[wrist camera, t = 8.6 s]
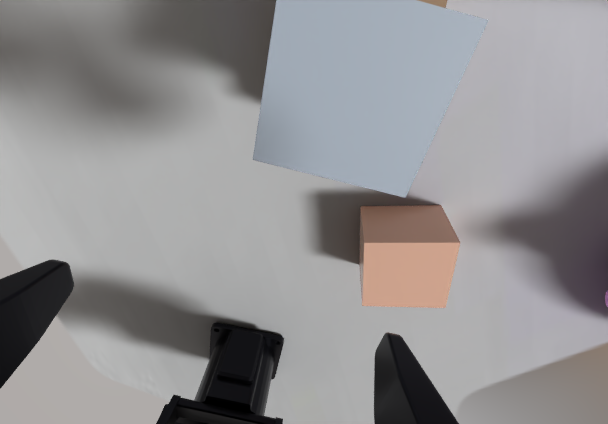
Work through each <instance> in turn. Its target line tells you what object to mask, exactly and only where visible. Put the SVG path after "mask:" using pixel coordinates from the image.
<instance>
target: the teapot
mask: <svg viewBox="0 0 608 424" xmlns="http://www.w3.org/2000/svg"><path fill="white" fill-rule="evenodd" d="M605 303H606V306H607V307H608V291H607V292H606V294H605Z"/></svg>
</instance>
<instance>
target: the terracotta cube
mask: <svg viewBox="0 0 608 424" xmlns="http://www.w3.org/2000/svg"><path fill="white" fill-rule="evenodd" d="M459 246H460V241H459V239H458V237H457V235H456V233H455V231H454V229H453V227H452V225H451V224H450V222H449V220H448V218H447V216H446V214H445V212H444V210H443V208H442V206H441V205H417V206H361V209H360V257H359V267H360V281H361V294H362V306H387V307H430V308H445V307H446V303H447V299H448V294H449V290H450V286H451V281H452V277H453V273H454V268H455V264H456V260H457V255H458V251H459Z"/></svg>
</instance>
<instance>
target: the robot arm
mask: <svg viewBox="0 0 608 424" xmlns="http://www.w3.org/2000/svg"><path fill="white" fill-rule="evenodd" d="M73 286H74V282H73V278H72V274H71V269H70V266H69V264H68V263H66V262H63V261H58V260H48V261H45V262H43V263H40V264H38V265H35V266H33V267H30V268H28V269H25V270H22V271H20V272H17V273H15V274H12V275H10V276H7V277H5V278H2V279H0V388H1V387H2V386H3V385H4V383H5V382H6V381H7V380H8V379H9V377H10V376H11V375H12V374H13V372H14V371H15V370H16V369H17V367H18V366H19V365H20V364H21V362H22V361H23V360H24V359H25V358H26V356H27V355H28V354H29V353H30V351H31V350H32V349H33V347H34V346H35V345H36V344H37V342H38V341H39V340H40V338H41V337H42V335H43V334H44V333H45V331H46V329H47V328H48V327H49V325H50V324H51V322H52V320H53V319H54V318H55V316H56V315H57V313H58V312H59V310H60V309H61V307H62V306H63V304H64V302H65V301H66V299H67V298H68V296H69V295H70V293H71V292H72V290H73ZM283 343H284V338H283V337H282V336H278V335H274V334H269V333H264V332H259V331H255V330H250V329H245V328H240V327H235V326H231V325H226V324H221V323H214V324H213V326H212V328H211V341H210V360H209V363H208V365H207V368H206V371H205V373H204V376H203V379H202V381H201V384H200V387H199V389H198V392H197V395H196V397H195V400H189V399H184V398H181V396H177V395H173V397H172V399H171V401H170V402H169V404H166V405H165V406H164V408H163V411H162V413H161V415H160V417H159V419H158V421H157V423H156V424H282V422H283V419H281V418H277V417H276V419H275V418H271V417H266V416H264V413H265V408H266V403H267V398H268V392H269V387H270V382H271V379H274V378H275V374H276V370H277V366H278V363H279V359H280V355H281V351H282V347H283ZM374 419H375V424H459V423H458V422H457V420H456V419H455V417H454V416H453V414H452V413H451V411H450V410H449V408H448V407H447V405H446V403H445V402H444V400H443V399H442V397H441V396H440V394H439V393H438V391H437V390H436V388H435V387H434V385H433V384H432V382H431V381H430V379H429V378H428V376H427V375H426V373H425V372H424V370H423V369H422V367H421V365H420V364H419V362H418V361H417V359H416V358H415V356H414V355H413V353H412V352H411V350H410V349H409V347H408V346H407V344H406V343H405V341H404V340H403V338H402V337H401V336H400V335H397V334H392V333H386V334H385V335H384V336H383V338H382V340H381V342H380V344H379V346H378V347H377V350H376V353H375V379H374Z"/></svg>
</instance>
